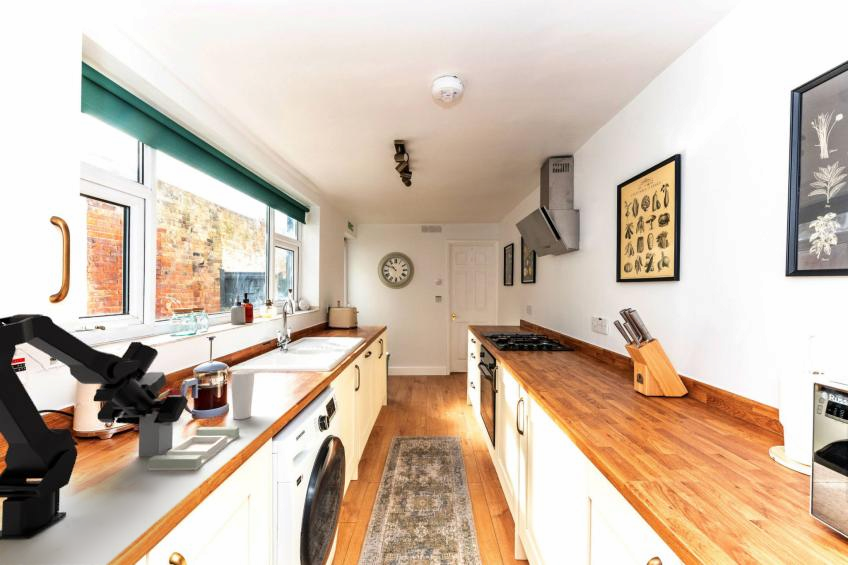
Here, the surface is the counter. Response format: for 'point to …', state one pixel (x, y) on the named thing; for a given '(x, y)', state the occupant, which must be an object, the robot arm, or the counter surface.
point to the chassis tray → (195, 449)
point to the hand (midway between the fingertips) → (160, 423)
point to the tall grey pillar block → (154, 436)
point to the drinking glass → (242, 393)
